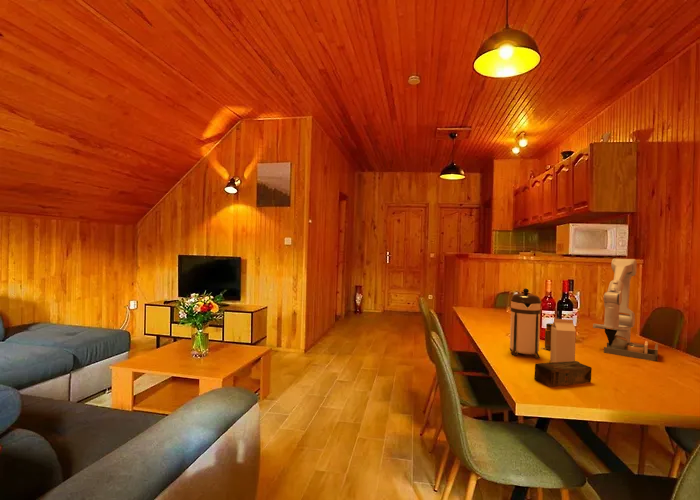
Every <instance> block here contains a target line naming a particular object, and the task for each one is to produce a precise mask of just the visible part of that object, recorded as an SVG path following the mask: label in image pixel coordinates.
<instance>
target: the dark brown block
mask: <svg viewBox="0 0 700 500" xmlns="http://www.w3.org/2000/svg"><path fill="white" fill-rule="evenodd" d="M592 370H593V369H592V367H591V366H589V365H586V364H585V363H582V362H581V363H580V361H578V360H575V361H570V362H538V363H535V364H534V376H533V378H534V380H535V381H537V382H539V383H542V384H543V385H545V386H547V387H550V388H551V387H559V386H571V385H581V384H588V383H592V382H591V381H592Z"/></svg>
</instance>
